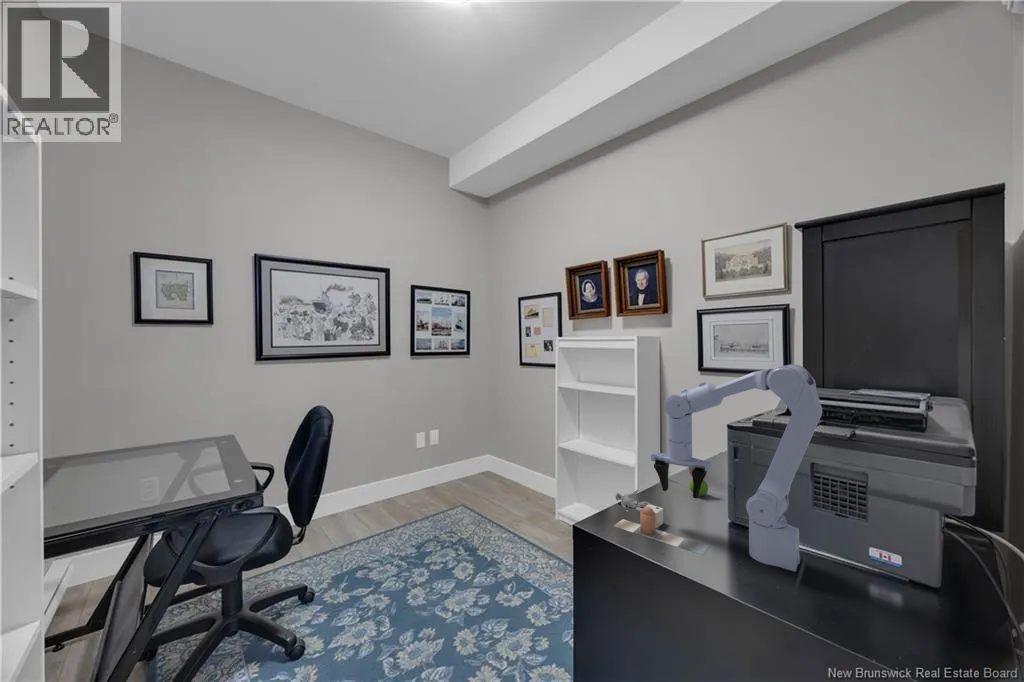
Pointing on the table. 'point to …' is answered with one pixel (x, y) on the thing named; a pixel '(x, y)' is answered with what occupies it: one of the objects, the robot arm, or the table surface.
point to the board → (664, 537)
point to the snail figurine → (703, 486)
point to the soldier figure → (631, 501)
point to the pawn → (647, 521)
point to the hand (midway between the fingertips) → (680, 493)
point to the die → (657, 515)
